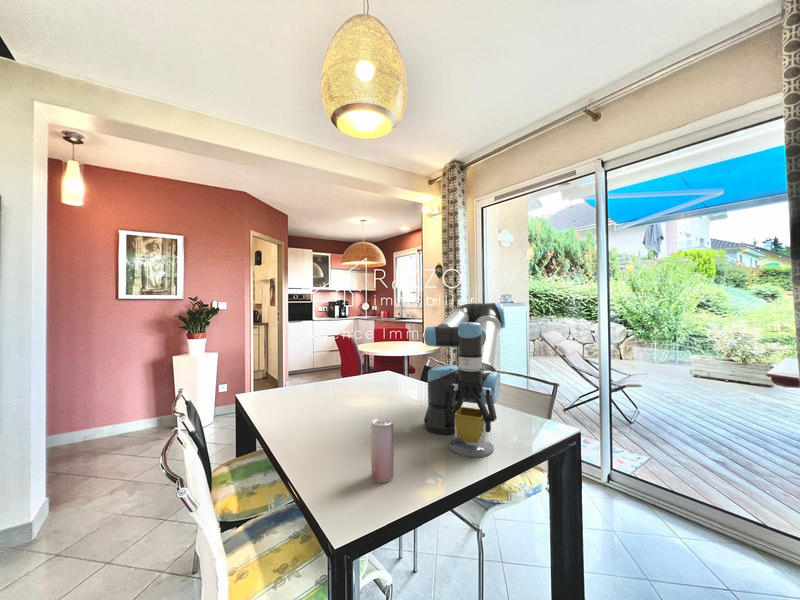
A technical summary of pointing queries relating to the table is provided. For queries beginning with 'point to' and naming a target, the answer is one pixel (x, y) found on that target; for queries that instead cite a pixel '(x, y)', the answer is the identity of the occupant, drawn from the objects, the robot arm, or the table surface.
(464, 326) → the robot arm
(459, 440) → the disc
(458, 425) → the flower pot
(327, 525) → the table surface
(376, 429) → the beverage can
